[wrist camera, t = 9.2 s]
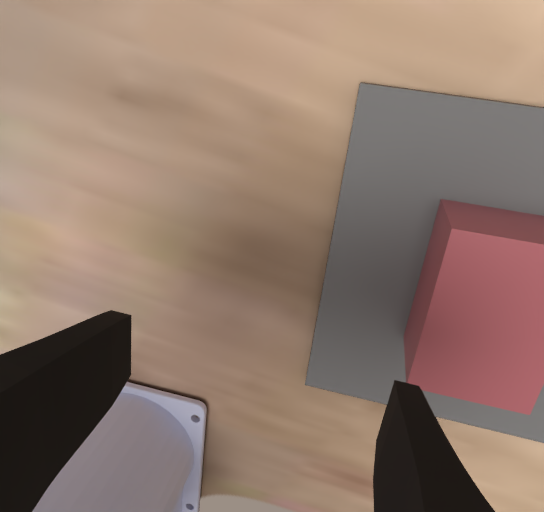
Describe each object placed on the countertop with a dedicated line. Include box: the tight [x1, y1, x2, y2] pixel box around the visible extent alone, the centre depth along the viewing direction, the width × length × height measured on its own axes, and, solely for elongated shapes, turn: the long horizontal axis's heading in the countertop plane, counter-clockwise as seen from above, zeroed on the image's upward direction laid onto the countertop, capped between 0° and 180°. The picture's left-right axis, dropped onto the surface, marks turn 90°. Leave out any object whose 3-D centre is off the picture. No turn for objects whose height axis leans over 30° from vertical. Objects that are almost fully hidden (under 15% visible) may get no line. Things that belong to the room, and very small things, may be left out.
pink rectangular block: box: [404, 199, 544, 415], centre depth 18 cm, size 4×6×4 cm
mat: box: [305, 82, 544, 443], centre depth 19 cm, size 14×12×1 cm
